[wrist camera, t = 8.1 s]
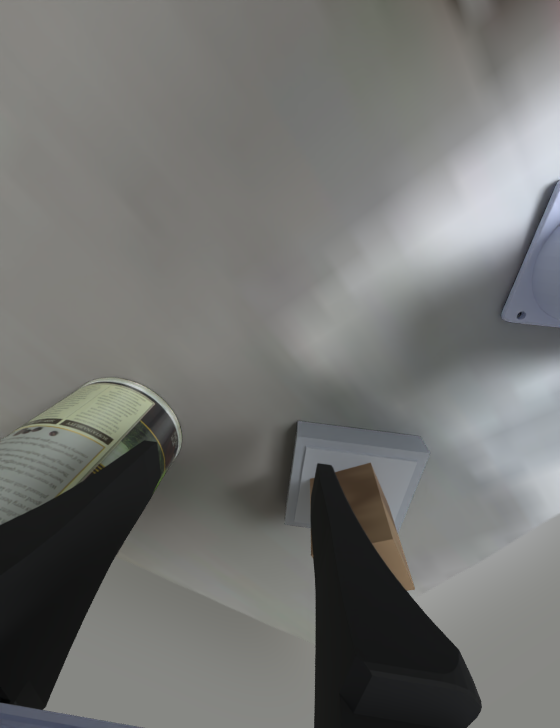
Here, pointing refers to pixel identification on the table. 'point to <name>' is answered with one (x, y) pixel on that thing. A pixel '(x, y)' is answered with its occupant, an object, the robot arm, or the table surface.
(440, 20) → the table surface
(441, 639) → the robot arm
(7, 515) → the coffee can
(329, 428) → the pedestal
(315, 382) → the table surface
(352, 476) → the walnut block
